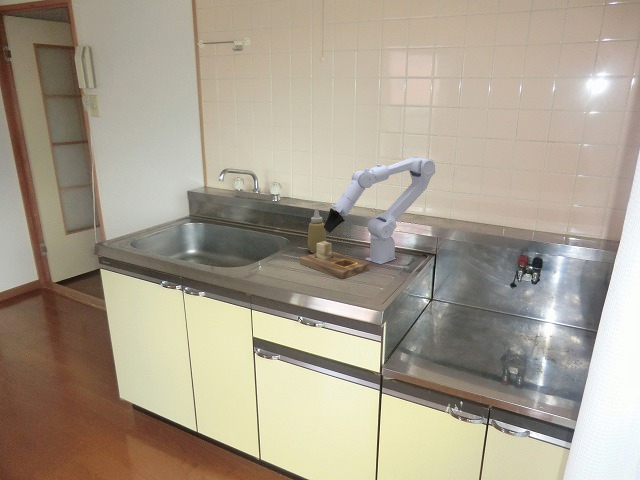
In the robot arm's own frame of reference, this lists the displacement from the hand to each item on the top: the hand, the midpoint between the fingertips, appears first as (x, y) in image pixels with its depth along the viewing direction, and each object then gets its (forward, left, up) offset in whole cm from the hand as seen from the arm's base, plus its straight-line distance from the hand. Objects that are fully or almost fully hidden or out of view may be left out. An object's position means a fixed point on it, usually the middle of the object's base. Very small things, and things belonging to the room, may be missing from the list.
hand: (326, 230), depth 172 cm
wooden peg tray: (-3, +1, -14) cm, 15 cm away
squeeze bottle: (-11, -18, -15) cm, 25 cm away
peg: (-3, -5, -14) cm, 15 cm away
